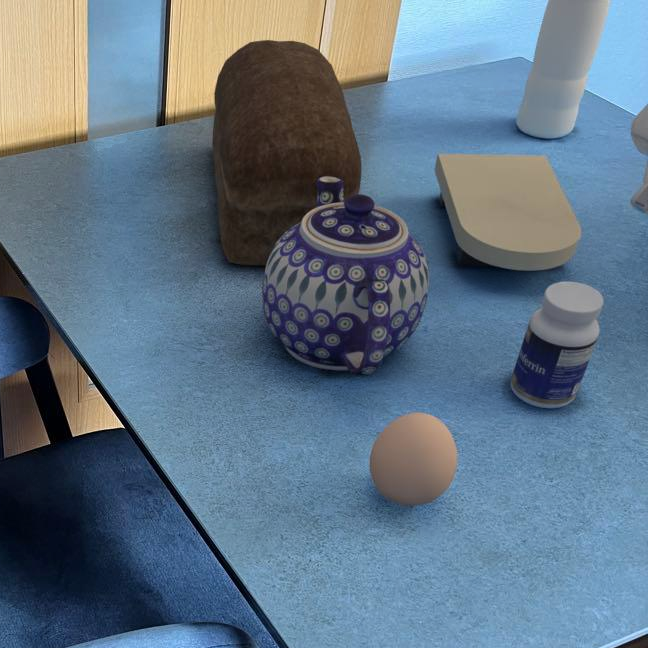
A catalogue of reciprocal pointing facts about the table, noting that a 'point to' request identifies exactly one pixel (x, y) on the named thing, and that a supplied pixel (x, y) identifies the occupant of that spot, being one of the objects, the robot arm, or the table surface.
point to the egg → (413, 459)
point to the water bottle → (561, 66)
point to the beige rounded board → (507, 211)
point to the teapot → (345, 283)
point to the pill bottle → (557, 345)
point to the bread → (277, 143)
